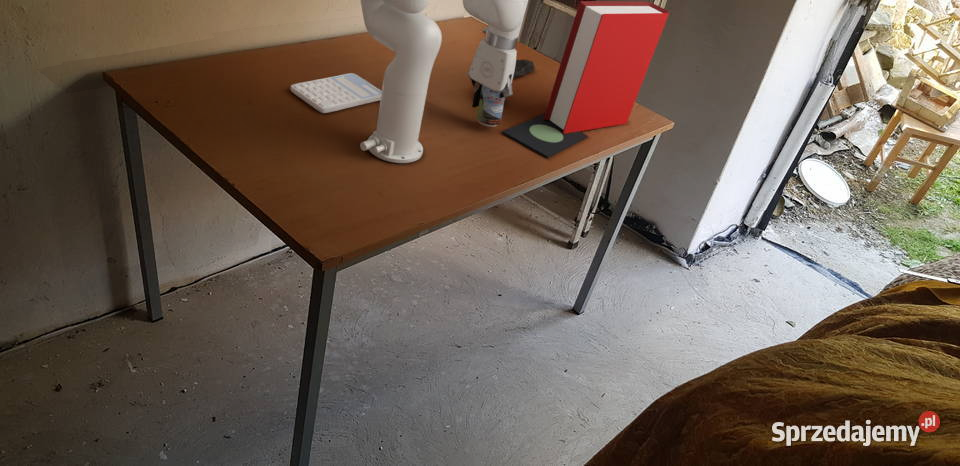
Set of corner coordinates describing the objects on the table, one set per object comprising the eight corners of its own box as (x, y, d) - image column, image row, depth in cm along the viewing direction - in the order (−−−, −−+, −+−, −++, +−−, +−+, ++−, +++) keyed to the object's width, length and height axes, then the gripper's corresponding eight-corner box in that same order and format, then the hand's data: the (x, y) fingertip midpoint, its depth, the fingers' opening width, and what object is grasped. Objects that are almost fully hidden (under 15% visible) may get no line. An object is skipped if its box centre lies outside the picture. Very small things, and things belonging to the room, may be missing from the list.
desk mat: (547, 158, 171) (548, 156, 171) (502, 133, 177) (502, 131, 177) (587, 137, 186) (587, 135, 185) (544, 115, 191) (545, 112, 191)
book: (563, 133, 183) (603, 13, 165) (543, 119, 187) (580, 1, 170) (629, 123, 200) (672, 13, 182) (609, 110, 204) (649, 1, 187)
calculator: (288, 90, 171) (288, 83, 170) (352, 77, 184) (353, 71, 183) (322, 115, 165) (322, 107, 164) (386, 99, 178) (387, 92, 177)
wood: (492, 83, 201) (494, 73, 199) (475, 72, 205) (477, 62, 203) (543, 74, 215) (546, 65, 214) (526, 64, 219) (529, 55, 218)
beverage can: (485, 131, 173) (498, 86, 166) (467, 117, 177) (479, 73, 170) (504, 128, 177) (517, 84, 170) (486, 115, 181) (498, 71, 174)
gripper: (464, 28, 166) (448, 99, 176) (520, 56, 160) (500, 127, 170) (483, 25, 172) (466, 93, 182) (537, 51, 165) (517, 121, 175)
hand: (482, 109), depth 176 cm, fingers closed on beverage can, 3 cm apart
